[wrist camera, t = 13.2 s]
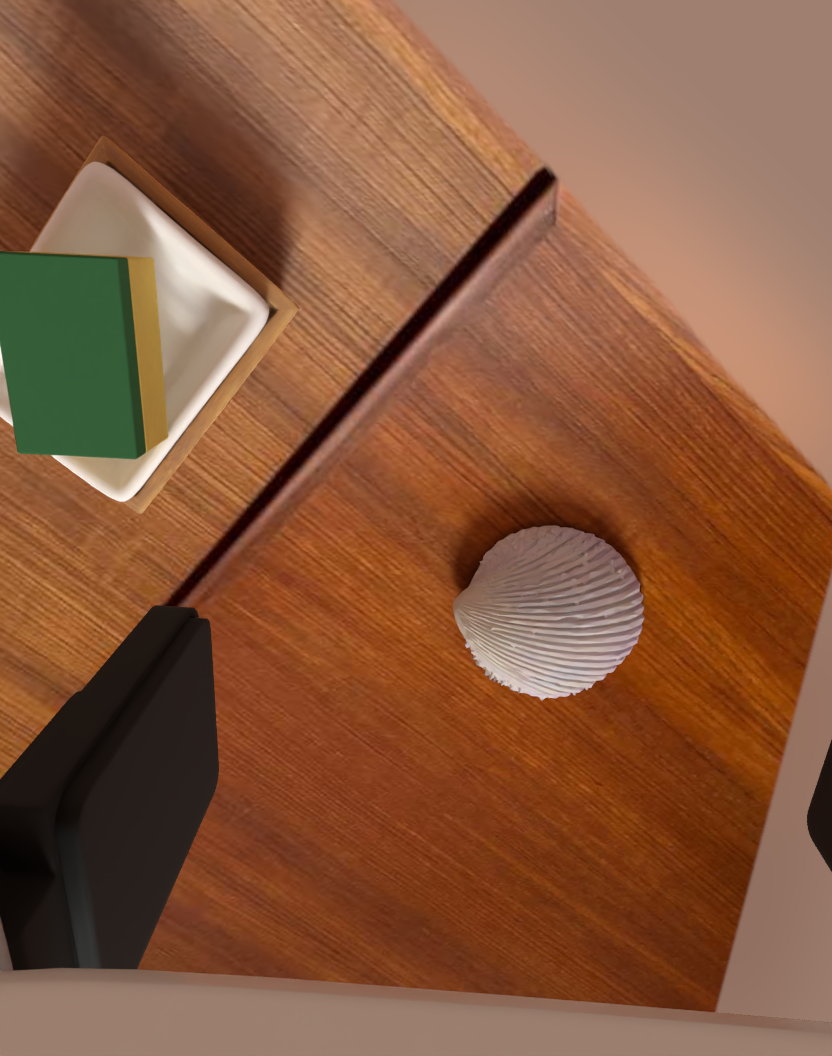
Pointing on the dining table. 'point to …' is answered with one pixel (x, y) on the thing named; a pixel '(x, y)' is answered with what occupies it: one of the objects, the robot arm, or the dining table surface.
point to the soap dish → (166, 308)
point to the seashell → (550, 611)
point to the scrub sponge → (82, 353)
